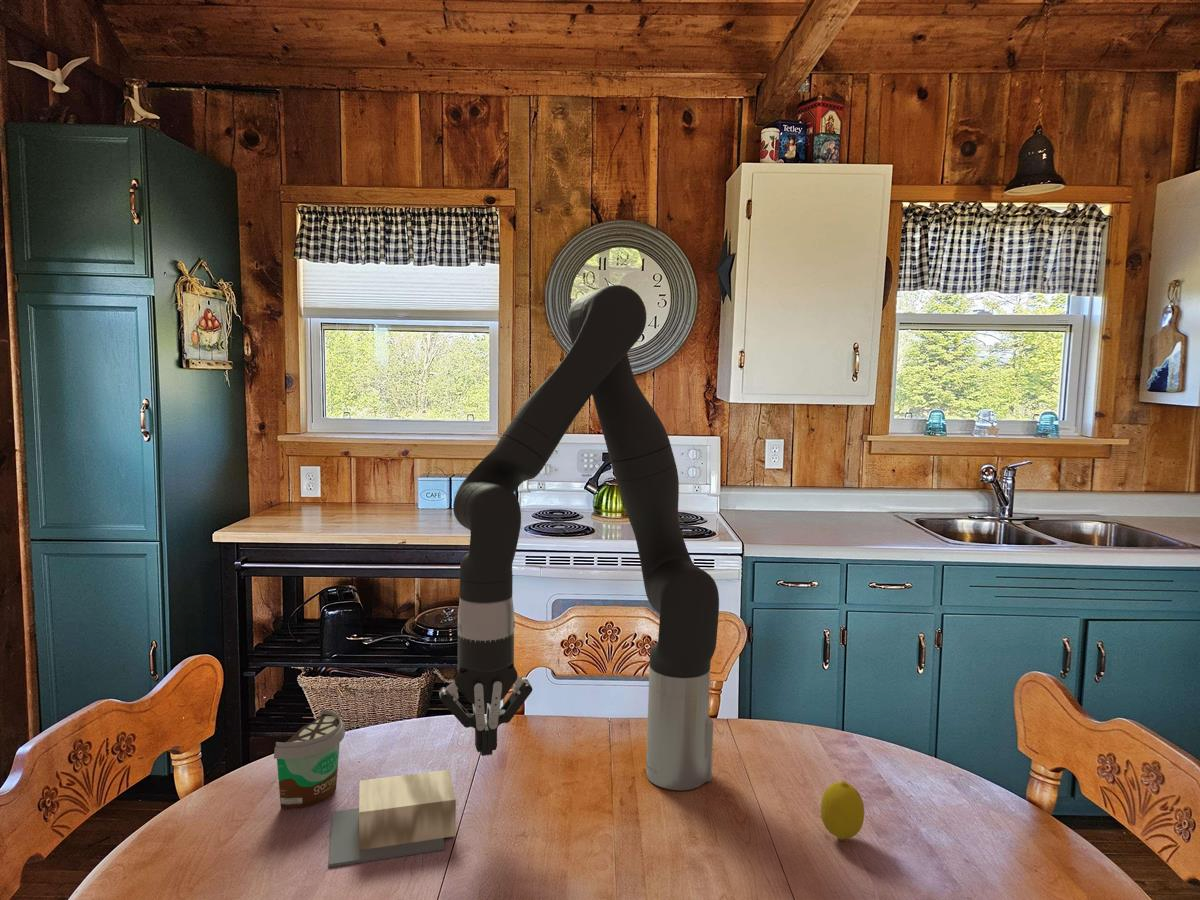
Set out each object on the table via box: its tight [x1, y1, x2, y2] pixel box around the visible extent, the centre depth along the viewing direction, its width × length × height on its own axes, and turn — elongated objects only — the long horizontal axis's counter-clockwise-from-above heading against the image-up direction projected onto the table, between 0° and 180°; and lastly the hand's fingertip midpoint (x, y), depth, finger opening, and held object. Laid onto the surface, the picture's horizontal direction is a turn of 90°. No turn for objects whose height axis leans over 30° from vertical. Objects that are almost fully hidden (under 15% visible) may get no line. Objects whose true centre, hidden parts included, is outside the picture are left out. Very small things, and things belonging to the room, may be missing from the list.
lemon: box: [820, 780, 865, 840], centre depth 102 cm, size 6×6×8 cm
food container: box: [273, 708, 346, 810], centre depth 110 cm, size 12×6×10 cm, turn 168°
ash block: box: [358, 769, 457, 850], centre depth 102 cm, size 5×8×12 cm
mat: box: [328, 807, 446, 868], centre depth 101 cm, size 14×12×1 cm
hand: (485, 752), depth 104 cm, fingers closed
